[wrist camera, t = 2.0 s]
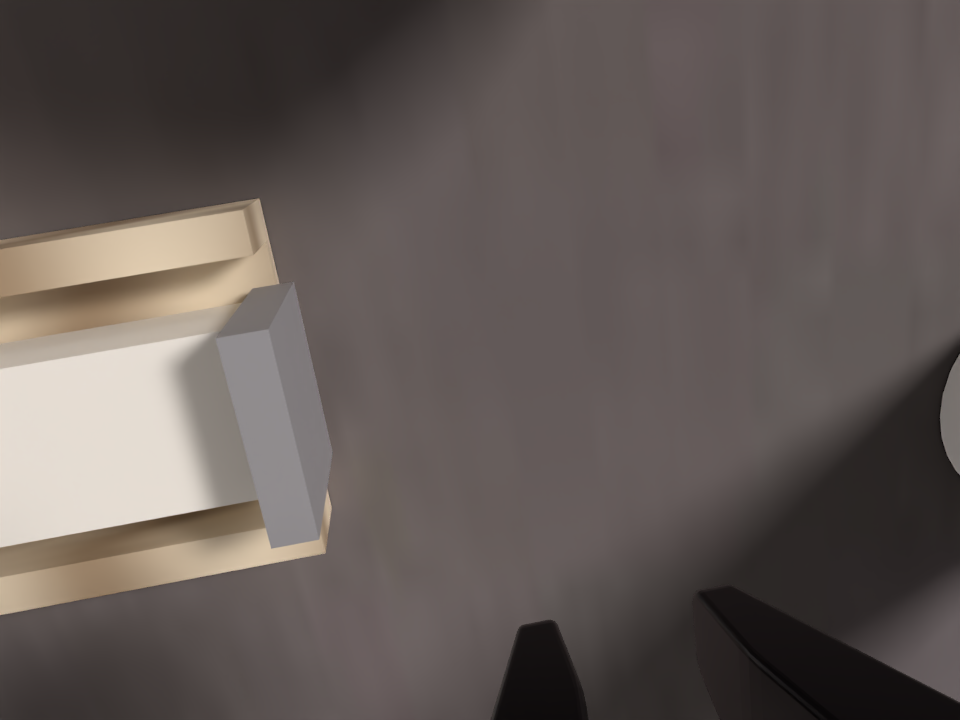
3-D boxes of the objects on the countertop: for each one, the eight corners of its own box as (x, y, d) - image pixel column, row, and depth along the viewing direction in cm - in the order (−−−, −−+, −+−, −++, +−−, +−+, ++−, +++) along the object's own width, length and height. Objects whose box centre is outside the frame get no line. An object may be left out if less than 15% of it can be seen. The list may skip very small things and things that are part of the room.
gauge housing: (259, 198, 19) (242, 209, 17) (331, 507, 22) (325, 553, 20) (-163, 266, 19) (-239, 288, 17) (-36, 576, 21) (-86, 631, 19)
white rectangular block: (293, 281, 19) (268, 328, 15) (332, 452, 21) (319, 540, 16) (-80, 344, 19) (-213, 411, 14) (-13, 515, 20) (-117, 622, 16)
